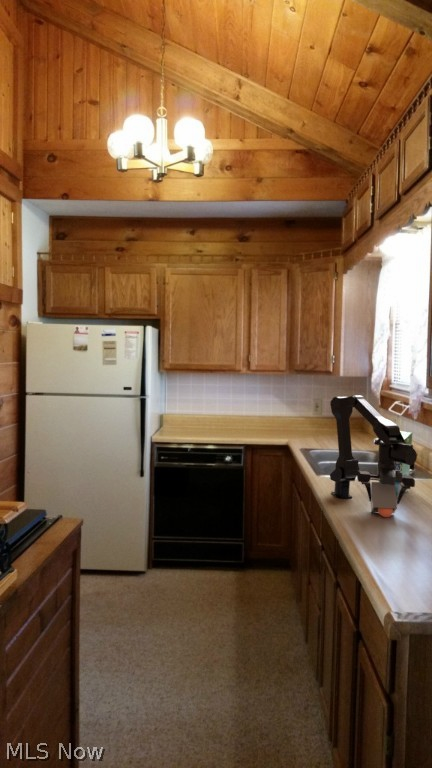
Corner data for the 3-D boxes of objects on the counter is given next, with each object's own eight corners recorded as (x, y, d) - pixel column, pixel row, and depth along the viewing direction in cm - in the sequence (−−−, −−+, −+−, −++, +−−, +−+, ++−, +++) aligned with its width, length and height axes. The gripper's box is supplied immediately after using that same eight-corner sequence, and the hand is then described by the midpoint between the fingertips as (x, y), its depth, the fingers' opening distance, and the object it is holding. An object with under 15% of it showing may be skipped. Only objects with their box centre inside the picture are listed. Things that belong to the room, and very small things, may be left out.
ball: (377, 514, 158) (374, 512, 163) (391, 520, 157) (388, 518, 162) (381, 500, 159) (379, 499, 164) (396, 506, 158) (393, 505, 163)
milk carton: (378, 489, 193) (382, 431, 191) (386, 485, 200) (391, 429, 198) (399, 495, 187) (404, 434, 185) (408, 490, 194) (412, 432, 192)
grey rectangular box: (371, 512, 165) (370, 487, 169) (394, 513, 163) (392, 488, 167) (373, 506, 158) (372, 481, 162) (396, 508, 157) (395, 483, 161)
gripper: (360, 461, 156) (358, 506, 157) (419, 466, 152) (416, 512, 153) (358, 455, 167) (355, 497, 168) (413, 459, 163) (410, 503, 164)
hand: (383, 502), depth 163 cm, fingers open, 9 cm apart
